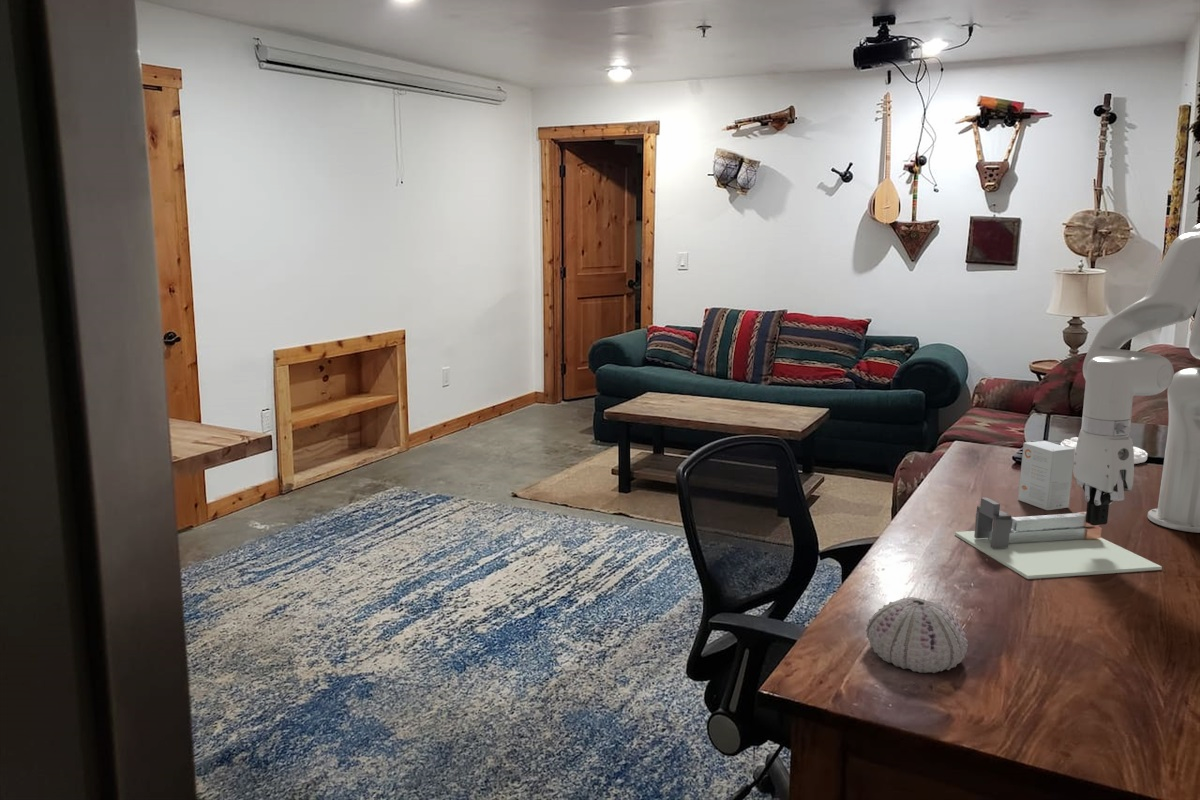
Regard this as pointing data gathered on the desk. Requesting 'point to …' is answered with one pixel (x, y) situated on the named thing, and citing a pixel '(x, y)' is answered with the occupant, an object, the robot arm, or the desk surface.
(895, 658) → the sea urchin shell
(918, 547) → the desk surface
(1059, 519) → the jaw
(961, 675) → the desk surface
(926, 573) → the desk surface
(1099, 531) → the base
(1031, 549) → the mat
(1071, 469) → the small box
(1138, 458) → the embossed medallion
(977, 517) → the lock collar
